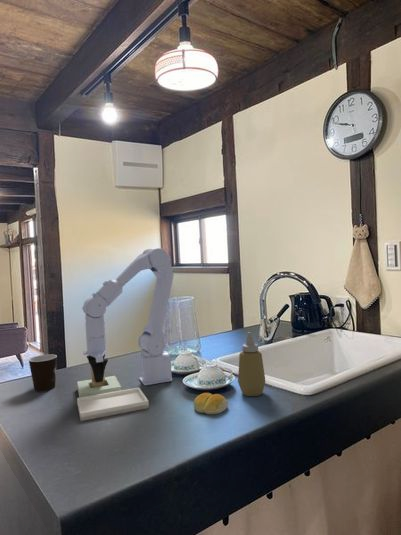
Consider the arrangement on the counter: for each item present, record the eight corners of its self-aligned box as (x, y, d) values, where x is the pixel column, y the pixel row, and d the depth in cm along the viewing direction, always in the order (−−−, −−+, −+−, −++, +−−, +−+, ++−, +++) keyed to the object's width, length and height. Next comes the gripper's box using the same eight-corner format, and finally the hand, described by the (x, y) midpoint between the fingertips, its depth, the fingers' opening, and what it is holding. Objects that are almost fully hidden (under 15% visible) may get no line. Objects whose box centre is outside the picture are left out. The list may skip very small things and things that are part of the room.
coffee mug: (49, 393, 122) (47, 361, 122) (24, 392, 124) (22, 361, 124) (68, 380, 134) (67, 352, 133) (46, 380, 135) (44, 352, 135)
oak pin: (104, 388, 124) (103, 364, 124) (106, 392, 120) (104, 367, 120) (91, 391, 122) (90, 366, 122) (93, 395, 119) (91, 369, 118)
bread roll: (204, 400, 111) (203, 387, 110) (231, 406, 106) (231, 391, 105) (187, 411, 104) (186, 396, 103) (216, 417, 99) (215, 402, 99)
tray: (139, 393, 118) (139, 387, 118) (148, 407, 107) (148, 400, 107) (77, 404, 111) (77, 398, 111) (80, 421, 100) (80, 413, 100)
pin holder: (115, 383, 129) (114, 375, 129) (121, 394, 118) (121, 386, 118) (77, 389, 125) (77, 381, 125) (80, 401, 114) (80, 393, 113)
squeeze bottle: (271, 392, 114) (269, 331, 113) (255, 400, 108) (252, 336, 108) (249, 386, 120) (246, 328, 119) (232, 394, 114) (230, 333, 113)
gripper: (80, 333, 126) (83, 375, 126) (84, 342, 112) (87, 388, 113) (102, 331, 129) (105, 371, 129) (109, 339, 115) (111, 384, 116)
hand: (98, 379), depth 121 cm, fingers closed on oak pin, 4 cm apart
